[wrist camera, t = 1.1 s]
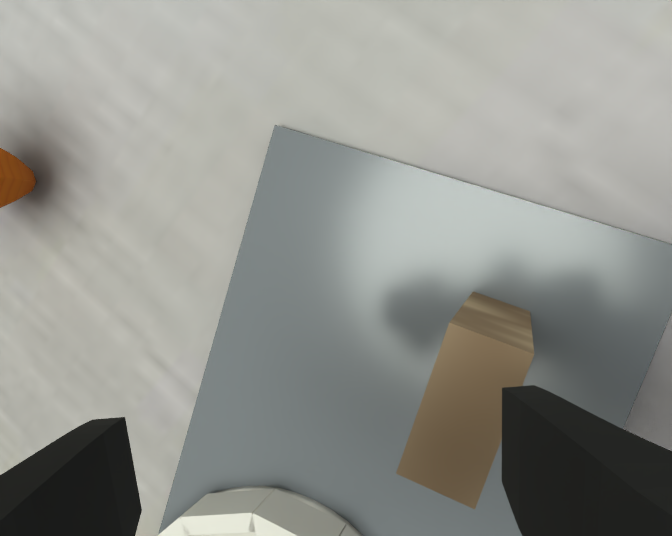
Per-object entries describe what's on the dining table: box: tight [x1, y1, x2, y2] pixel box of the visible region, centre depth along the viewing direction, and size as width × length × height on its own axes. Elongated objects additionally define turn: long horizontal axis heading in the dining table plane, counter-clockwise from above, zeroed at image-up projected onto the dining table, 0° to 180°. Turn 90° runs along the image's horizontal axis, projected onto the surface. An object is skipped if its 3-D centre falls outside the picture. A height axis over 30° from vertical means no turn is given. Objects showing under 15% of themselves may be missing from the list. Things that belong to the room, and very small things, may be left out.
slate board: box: [158, 125, 672, 536], centre depth 22 cm, size 15×26×1 cm, turn 162°
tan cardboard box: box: [396, 292, 534, 509], centre depth 17 cm, size 2×4×7 cm, turn 162°
